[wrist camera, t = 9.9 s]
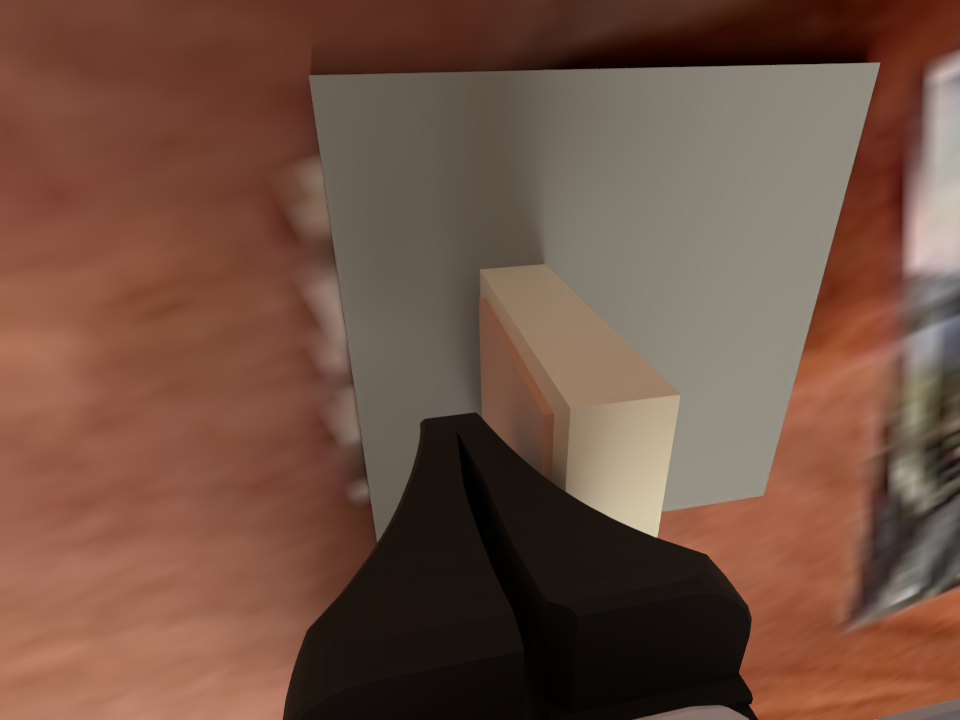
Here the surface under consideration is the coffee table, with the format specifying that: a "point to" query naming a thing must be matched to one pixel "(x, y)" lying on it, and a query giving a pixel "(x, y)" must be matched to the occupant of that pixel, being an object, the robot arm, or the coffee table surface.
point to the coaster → (574, 395)
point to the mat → (590, 237)
